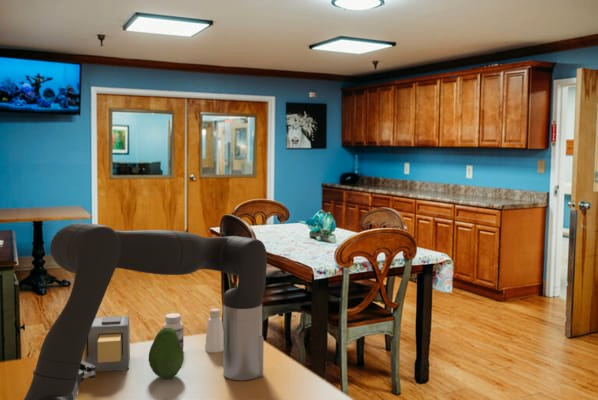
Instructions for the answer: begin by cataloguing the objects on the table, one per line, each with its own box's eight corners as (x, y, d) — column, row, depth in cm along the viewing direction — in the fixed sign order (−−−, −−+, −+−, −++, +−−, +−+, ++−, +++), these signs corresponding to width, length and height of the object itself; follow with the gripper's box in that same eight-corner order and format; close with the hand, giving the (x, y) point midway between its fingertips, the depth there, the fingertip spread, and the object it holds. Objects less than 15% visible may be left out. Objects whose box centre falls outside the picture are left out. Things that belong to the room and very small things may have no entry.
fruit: (149, 385, 134) (148, 334, 133) (148, 372, 142) (147, 324, 141) (184, 382, 137) (184, 332, 135) (182, 369, 144) (181, 322, 143)
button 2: (122, 349, 146) (122, 329, 146) (120, 361, 138) (119, 340, 138) (101, 350, 145) (100, 331, 145) (97, 362, 137) (97, 341, 137)
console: (129, 357, 152) (129, 313, 151) (128, 369, 144) (127, 323, 143) (63, 361, 148) (62, 316, 147) (58, 374, 140) (57, 326, 139)
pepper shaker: (203, 352, 156) (202, 312, 155) (206, 345, 162) (206, 306, 160) (223, 353, 156) (223, 312, 155) (226, 346, 161) (226, 307, 160)
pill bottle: (160, 348, 158) (160, 313, 158) (180, 346, 161) (180, 311, 160) (165, 355, 154) (165, 319, 153) (185, 352, 156) (185, 317, 155)
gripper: (93, 369, 117) (101, 341, 134) (21, 375, 114) (38, 344, 131) (93, 406, 118) (101, 373, 134) (22, 412, 115) (39, 377, 131)
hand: (70, 359), depth 133 cm, fingers closed
